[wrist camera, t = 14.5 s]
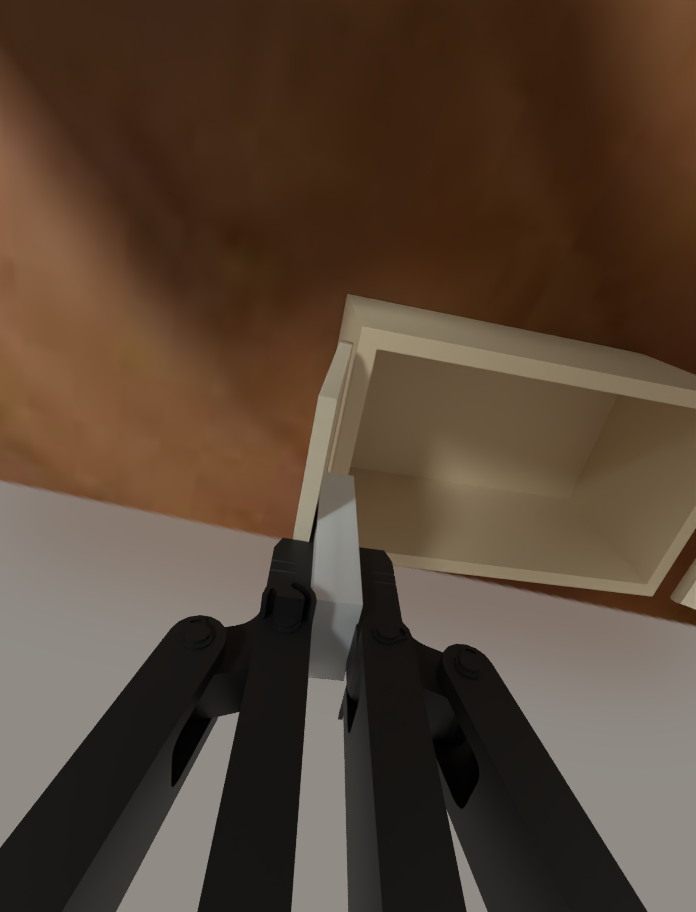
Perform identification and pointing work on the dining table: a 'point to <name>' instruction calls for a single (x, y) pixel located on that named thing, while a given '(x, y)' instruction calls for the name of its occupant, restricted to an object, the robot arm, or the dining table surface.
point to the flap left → (322, 439)
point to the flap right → (686, 588)
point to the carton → (514, 450)
